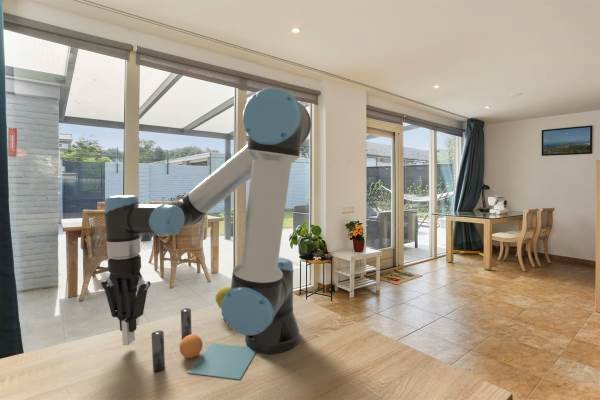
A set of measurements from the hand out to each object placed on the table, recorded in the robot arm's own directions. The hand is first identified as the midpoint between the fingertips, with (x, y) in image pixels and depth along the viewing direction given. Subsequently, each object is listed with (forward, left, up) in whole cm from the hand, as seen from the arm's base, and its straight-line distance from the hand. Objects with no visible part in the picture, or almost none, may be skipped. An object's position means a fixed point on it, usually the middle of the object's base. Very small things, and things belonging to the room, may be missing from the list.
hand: (129, 342), depth 85 cm
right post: (-13, -6, -2) cm, 15 cm away
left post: (-13, +6, -2) cm, 15 cm away
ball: (-18, 0, +1) cm, 18 cm away
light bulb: (-18, -22, -2) cm, 29 cm away
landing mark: (-27, 0, -2) cm, 27 cm away
